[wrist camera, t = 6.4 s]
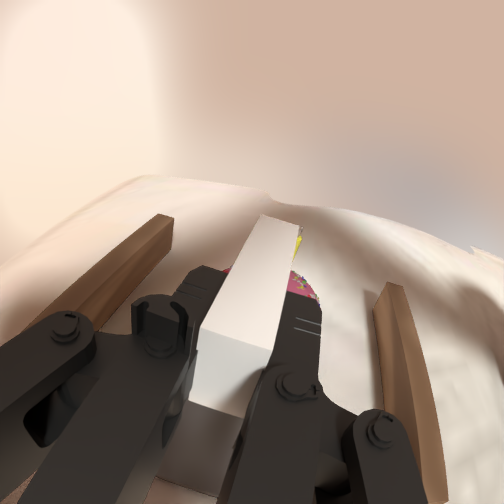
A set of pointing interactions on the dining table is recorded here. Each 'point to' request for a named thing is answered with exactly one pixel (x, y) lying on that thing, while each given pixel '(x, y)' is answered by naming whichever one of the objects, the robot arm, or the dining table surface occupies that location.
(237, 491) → the robot arm
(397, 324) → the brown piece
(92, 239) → the dining table surface
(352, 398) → the dining table surface
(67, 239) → the dining table surface
